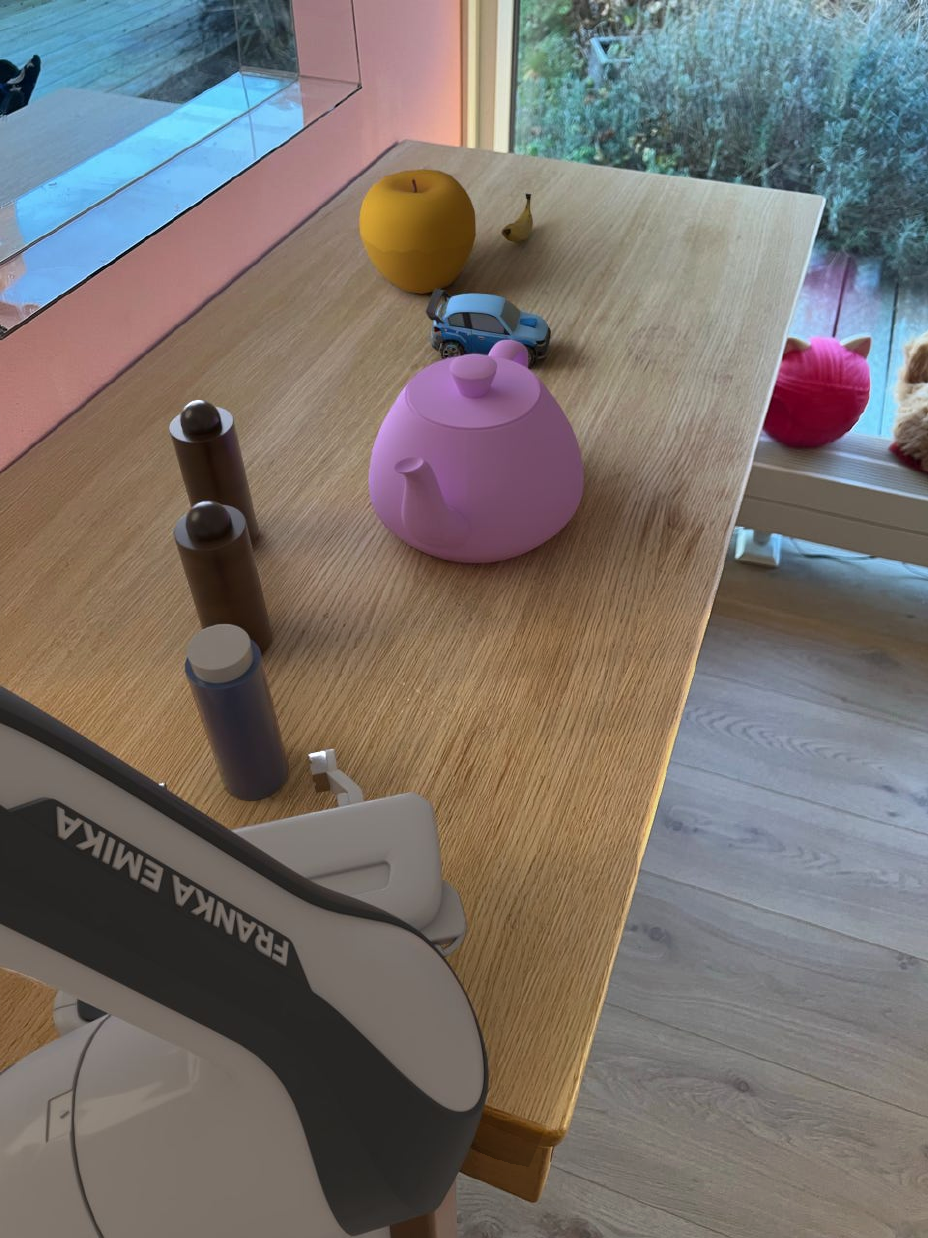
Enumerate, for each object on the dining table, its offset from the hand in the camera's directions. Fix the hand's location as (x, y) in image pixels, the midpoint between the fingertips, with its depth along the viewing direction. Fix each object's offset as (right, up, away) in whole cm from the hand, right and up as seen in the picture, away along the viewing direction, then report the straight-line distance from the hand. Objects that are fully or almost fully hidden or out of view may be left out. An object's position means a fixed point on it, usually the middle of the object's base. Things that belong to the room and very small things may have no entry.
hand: (239, 773), depth 56 cm
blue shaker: (-1, -1, +9) cm, 10 cm away
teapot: (+13, +17, +28) cm, 35 cm away
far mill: (-7, +16, +27) cm, 32 cm away
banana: (+19, +54, +64) cm, 85 cm away
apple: (+8, +47, +58) cm, 75 cm away
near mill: (-4, +7, +18) cm, 20 cm away
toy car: (+15, +36, +46) cm, 60 cm away
